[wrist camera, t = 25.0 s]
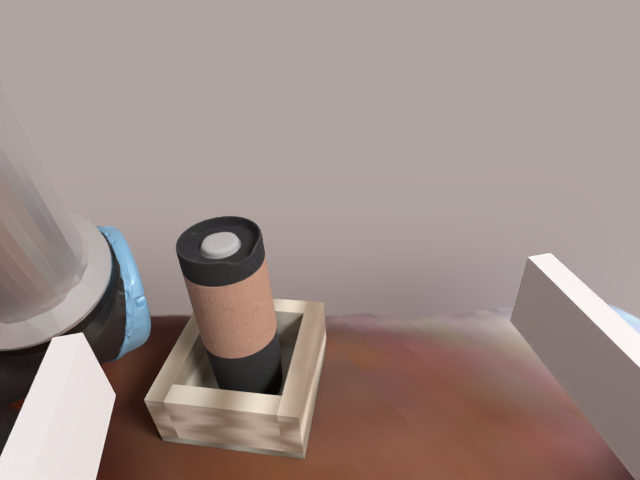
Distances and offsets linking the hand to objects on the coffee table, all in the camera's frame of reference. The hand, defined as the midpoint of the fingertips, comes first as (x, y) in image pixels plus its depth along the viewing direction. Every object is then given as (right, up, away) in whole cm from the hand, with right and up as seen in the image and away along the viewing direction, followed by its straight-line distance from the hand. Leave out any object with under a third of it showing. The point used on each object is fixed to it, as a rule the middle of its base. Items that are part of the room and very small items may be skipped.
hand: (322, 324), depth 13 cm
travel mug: (-8, -14, +36) cm, 39 cm away
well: (-8, -14, +36) cm, 40 cm away
